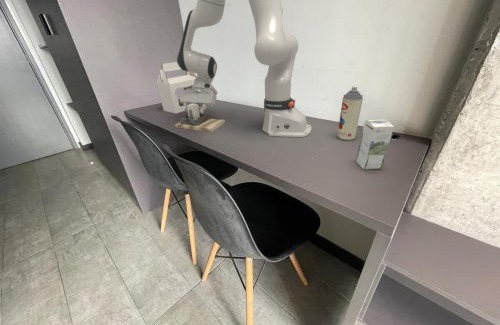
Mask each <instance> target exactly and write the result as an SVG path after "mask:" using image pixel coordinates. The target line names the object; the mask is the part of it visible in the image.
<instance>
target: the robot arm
mask: <svg viewBox="0 0 500 325" xmlns="http://www.w3.org/2000/svg"><path fill="white" fill-rule="evenodd" d="M248 3H249V6H250V9H251V13H252V18H253V20H254V27H255V38H256V42H255V45H254V55H255V56H254V57H255V59H256V61H258V62H259V63H260V64H262V65H265V66H268V70H267V73H266V76H265V78H264V100H263V108H264V119H263V125H262V131H263V132H264V133H266V134H267V135H268V136H269V137H283V138H284V137H285V138H287V137H289V138H290V137H291V138H305V137H307V136H309V134H311V132H312V130H313V129H312V126H311V124H308V122H307V117H306V115H305V114H304V113H303V112H302V111H300V110H299V109H298V108H297V107H295V106H296V105H295V104H296V98H295V99H293V98H292V97H291V93H292V92H291V90H292V88H291V87H292V76H293V72H294V71H293V70H294V66H295V60H296V55H297V53H298V50H299V43H298V40H297V38H296V37H295V36H294V35H293V34H291V33H289V32H284V30H283V17H282V16H283V12H284V10H283V9H284V8H283V5H282V1H281V0H248ZM225 5H226V0H197V3H196V5H195V7H194V9H192V10H190V11H189V13H188V15H187V18H186V21H185V26H184V30H183V34H182V39H181V43H180V47H179V50H178V54H177V57H176V62H177V63H178V65H179V67H180V68H181V69H180V70H182V71H184V72H185V71H189V72H193V73H194V74H196V78H195V80H194V83H193V86H192V88H187V89H185V90H184V89H183V92H182V93H181V95H180V97H179V100H180V102H181V103H182V104H183V105H184V107H185V108H184V111H183V112H184V113H188V111H187V106H186V105H189V104H191V103H193V104H198V107H201V108H200V109H199V113H202V114H204V112H205V111H206V109H207V108H208V107H211V108H212V107H214V106H215V104H216V103H217V102H216V101H217V95H218V91H217V89H216V88H215V87H214V86H213V85H212V82H213V81H214V78H215V77H216V73H217V71H218V63H217V62H216V60H215V58H214V57H213V56H211V55H209V54H206V53H202V52H198V51H196V50H193V49H192V44H193V40H194V35H195V33H196V30H198V29H200V28H205V27H206V28H207V27H211V26H215V25H217V24H219V23H220V22H221V20H222V19H223V15H224V11H225Z"/></svg>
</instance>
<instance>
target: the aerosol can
mask: <svg viewBox="0 0 500 325" xmlns="http://www.w3.org/2000/svg"><path fill="white" fill-rule="evenodd" d="M363 98H364V96H363V94H362V93H361V92H359V91H358V87H357V86H352V87H351V89H350V90H348V91H347V92H346V94H343V97H342V102H341V108H340V114H339V121H338V129H337V135H336V136H337V137H336V138H337V139H338V140H339V141H343V142H351V141H352V142H353V141H354V140H355V139H356V136H357V130H358V125H359V120H360V119H359V118H360V114H361V110H362V106H363V105H362V104H363Z"/></svg>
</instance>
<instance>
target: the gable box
mask: <svg viewBox="0 0 500 325" xmlns="http://www.w3.org/2000/svg"><path fill="white" fill-rule="evenodd" d="M160 67H161V69H160V70H159V74H158V78H157V81H156V87H157V90H158V93H159V97H160V102H161V104H162V110H163V111H164V112H167V113H172V114H175V115H176V114H178V113H182V112H185V111H184V108H185V107H184V105H183V104H182V103H181V102H180V99H178V96H177V95H176V90H177V89H180V88H181V89H182V88H183V91H184V90H185V89H187V88H192V86H193V83H194V80H195V78H196V77H197V74H196V73H193V72H189V71H184V75H180V76H175V77H169V78H168V77H167V75H166V73H168V72H172V71H179V70H182V69H181V68H180V67H179V65H178V63H177V61H172V62H165V63H162V65H160Z"/></svg>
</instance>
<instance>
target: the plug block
mask: <svg viewBox="0 0 500 325" xmlns="http://www.w3.org/2000/svg"><path fill="white" fill-rule="evenodd" d="M186 106H187V111H188V112H187V115H188V116H189V119H198V118H200V114H199V106H198V104H193V103H191V104H189V105H186Z"/></svg>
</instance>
